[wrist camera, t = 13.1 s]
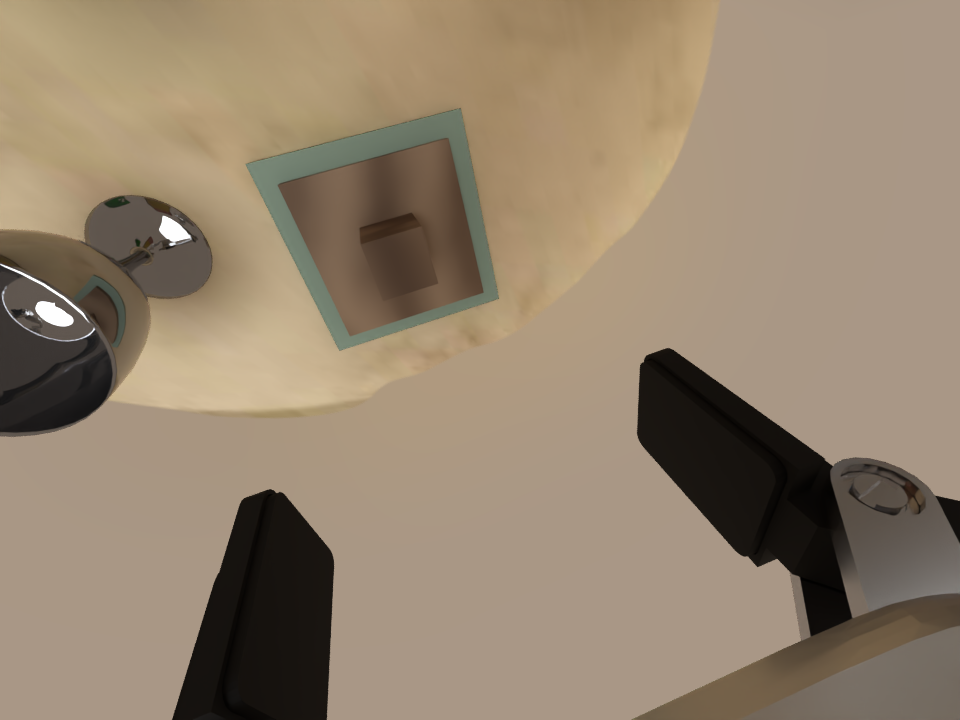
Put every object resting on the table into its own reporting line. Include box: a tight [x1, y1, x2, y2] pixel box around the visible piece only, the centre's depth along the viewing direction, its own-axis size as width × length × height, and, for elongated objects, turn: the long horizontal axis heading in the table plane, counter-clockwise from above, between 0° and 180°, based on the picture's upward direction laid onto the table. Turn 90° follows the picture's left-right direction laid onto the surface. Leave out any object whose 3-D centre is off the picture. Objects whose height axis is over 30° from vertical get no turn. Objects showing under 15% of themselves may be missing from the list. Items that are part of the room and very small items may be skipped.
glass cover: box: [278, 138, 484, 336], centre depth 28 cm, size 12×12×6 cm
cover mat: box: [246, 108, 499, 351], centre depth 30 cm, size 15×15×1 cm
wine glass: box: [0, 195, 212, 437], centre depth 20 cm, size 8×8×15 cm
